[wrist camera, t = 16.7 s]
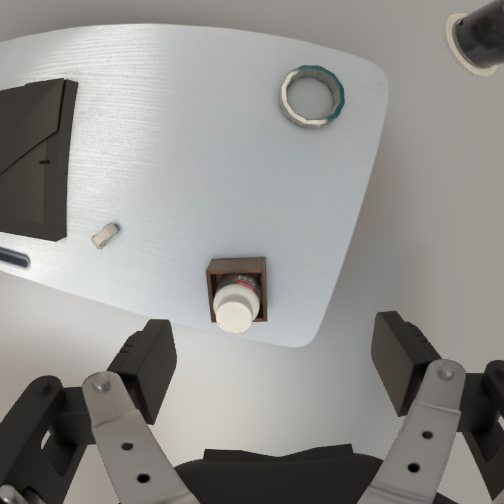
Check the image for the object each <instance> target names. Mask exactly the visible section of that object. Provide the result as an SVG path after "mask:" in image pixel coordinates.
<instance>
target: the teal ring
mask: <svg viewBox="0 0 504 504" xmlns="http://www.w3.org/2000/svg"><path fill="white" fill-rule="evenodd" d="M300 77H315V78H317V79H319V80H321V81H323V82H324V83H326V84H327V86H328V87H329V89H330V90H331V92H332V93H333V104H334V106H333V108H332V110H331V112H330V114H329V116H328V117H326V118H325V119H323V120H307V119H305V118H303V117H302V116H300V115H298V114H296V113H295V112H294V111H293V109H292V108H291V106H290V105H289V104H288V102H287V93H286V89H287V88H288V86H289V84H290V83H291V82H292V81H294V80H296V79H298V78H300ZM279 94H280V107H281V109H282V110H283V112H284V113H285V115H286V116H287V118H288V119H290V121H292V122H294V123H296V124H297V125H299V126H301V127H304V128H307V127H312V128H318V127H321V126H322V125H324V124H326V123H328V122H330V121H331V120H333V119H335V118H337V117H338V115H339V113H340V111H341V110H342V108H343V106H344V103H345V99H344V88H343V86H342V85H341V83H340V82H339V80H338V79H337V77H336V76H335V74H333V73H332V72H330V71H328V70H326V69H324V68H323V67H321V66H306V65H304V66H301V67H299V68H297V69H295V70H293V71H291V72H290V73H289V74H288V75H287V77H286V78H285V80H284V82H283V84H282V85H281V89H280V93H279Z"/></svg>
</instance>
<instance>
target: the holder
mask: <svg viewBox="0 0 504 504" xmlns="http://www.w3.org/2000/svg"><path fill="white" fill-rule="evenodd" d="M235 273H256V275H257V276H258V278H259V281H260V307H259V312H258V314H257V316H256V318H255V319H254V320H253V321H252V322H263V321H264V322H265V321H267V288H266V260H265V257H259V258H231V259H211V262H210V264H209V266H208V268H207V270H206V276H207V286H208V295H209V304H210V313H211V321H212V322H217V321H216V315H215V312H214V309H213V302H214V298H215V295H216V292H217V289H218V286H219V283H220V281H221V278H222V276H223V274H235Z"/></svg>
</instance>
